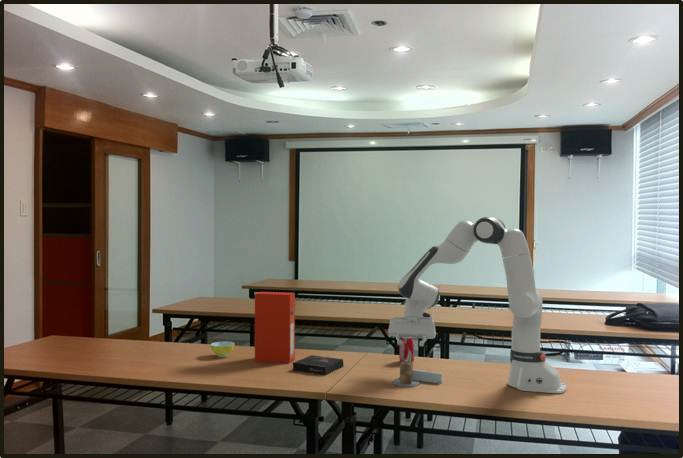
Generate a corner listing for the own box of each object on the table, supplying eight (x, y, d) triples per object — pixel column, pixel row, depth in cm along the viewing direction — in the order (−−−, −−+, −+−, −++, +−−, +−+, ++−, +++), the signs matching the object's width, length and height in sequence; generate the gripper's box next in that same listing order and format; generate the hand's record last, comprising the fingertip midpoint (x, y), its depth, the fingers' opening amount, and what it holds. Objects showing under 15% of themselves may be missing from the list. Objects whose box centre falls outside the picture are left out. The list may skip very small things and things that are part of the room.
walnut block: (412, 381, 232) (412, 362, 232) (410, 384, 228) (411, 364, 228) (401, 380, 233) (401, 361, 233) (399, 383, 230) (400, 363, 229)
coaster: (423, 381, 233) (423, 380, 233) (414, 388, 223) (414, 387, 223) (398, 378, 238) (398, 377, 238) (388, 384, 228) (388, 384, 228)
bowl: (210, 359, 269) (210, 346, 269) (211, 354, 281) (211, 341, 281) (234, 358, 272) (234, 345, 272) (234, 353, 283) (234, 340, 283)
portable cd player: (343, 367, 257) (343, 358, 257) (325, 376, 242) (325, 367, 242) (312, 363, 265) (312, 354, 265) (292, 371, 250) (292, 362, 250)
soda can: (413, 364, 262) (413, 338, 262) (398, 363, 264) (398, 337, 264) (414, 360, 269) (414, 335, 269) (399, 359, 271) (400, 334, 271)
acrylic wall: (442, 382, 232) (442, 372, 232) (440, 384, 230) (440, 374, 230) (401, 377, 240) (401, 367, 240) (399, 378, 238) (399, 369, 238)
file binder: (289, 363, 263) (289, 294, 263) (254, 361, 267) (254, 293, 266) (294, 359, 271) (294, 292, 271) (260, 357, 274) (260, 291, 274)
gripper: (389, 313, 249) (384, 339, 239) (436, 314, 243) (433, 342, 234) (391, 321, 253) (387, 347, 244) (437, 323, 247) (434, 350, 238)
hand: (410, 345), depth 239 cm, fingers open, 8 cm apart
